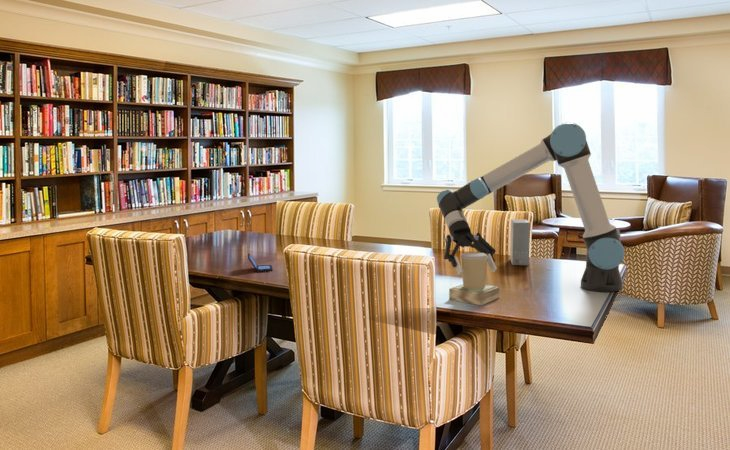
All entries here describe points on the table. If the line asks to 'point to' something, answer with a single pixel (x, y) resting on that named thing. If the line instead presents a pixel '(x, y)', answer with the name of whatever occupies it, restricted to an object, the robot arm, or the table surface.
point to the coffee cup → (474, 270)
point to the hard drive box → (519, 242)
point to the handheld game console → (261, 267)
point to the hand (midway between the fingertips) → (477, 272)
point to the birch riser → (474, 294)
